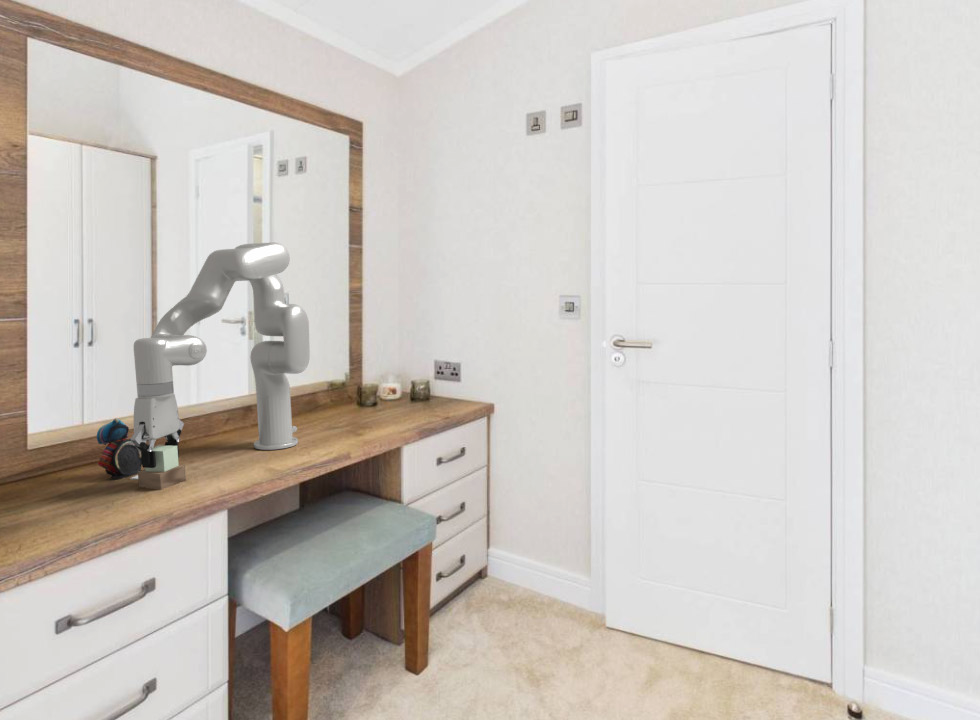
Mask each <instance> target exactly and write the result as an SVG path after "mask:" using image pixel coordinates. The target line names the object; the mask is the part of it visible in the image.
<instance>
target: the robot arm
mask: <svg viewBox="0 0 980 720" xmlns="http://www.w3.org/2000/svg"><path fill="white" fill-rule="evenodd" d="M289 265H290V253H289V251H288V249H287V248H286V247H285V246H284V245H283V244H281V243H279V242H259V243H257V242H256V243H246V244H245V243H244V244H240V245H237V246H236V247H235V248H225V249H218V250H214V251H213V252H211V253H210V254H208V255H207V258H206V259H205V261H204V263H203V265H202V266H201V269H200V271H199V273H198V274H197V277H196V279H195V281H194V282H193V284H192V286H191V288H190V291H189V292H188V293H187V294H186V295H185V297H184V298H182V299H181V300H180V301H178V302H177V303H176V304H175V305H174V306H173V307H171V308H170V309H169V310H168V311H167V312H166V313H165V314H164V315H163V316H162V317H161V318H160V320H159V322H158V323H157V325H156V326H155V328H154V330H153V332H152V333H151V336H150V337H144V338H137V339H136V340H135V341H134V342H133V355H134V356H133V357H134V368H135V369H134V370H135V380H136V382H135V383H136V395H137V397H136V398H135V399H134V405H133V406H134V407H133V435H132V436H131V437H130V439H131V441H132V442H133V443H134V444H135V446H136V447H137V448H138V450H139V451H140V452H141V458H142V466H141V468H144V469H145V468H155V467H156V457H155V451H152V450H153V447H155V442H156V440H158V439H162V438H164V439H165V440H166V441H165V442H164V445H166V446H177V450H178V459H179V458H180V449H179V442H180V440H181V438H180V436H181V434H182V430H183V427H184V425H185V422H183V421H182V420H181V419H180V416H179V415H180V414H179V408H178V403H177V398H176V394H175V391H174V389H175V388H174V376H173V367H174V366H186V367H187V366H188V367H189V366H193V365H194V366H195V365H197V364H199V363H200V362H201V361H203V360H204V359H205V357H206V355H207V351H208V350H207V346H206V344H205V342H204V341H203V340H202V338H199V337H198V336H195V335H189V334H186V333H187V331H188V330H189V329H190V328H191V327H193V326H194V325H195V324H197V323H199V322H201V321H203V320H205V319H207V318H210V317H212V316H213V315H215V314H217V313H219V312H220V311H221V310H222V309H223V307H224V304H225V302H226V300H227V298H228V297H229V294H230V292H231V291H232V289H233V286H234V284H235V283H236V282H237V281H238V282H241V281H243V282H246V281H248V282H249V283H250V285H251V287H252V291H253V292H252V294H253V310H254V311H253V317H254V326H255V329H256V331H257V333H259V334H260V335H261V336H264V337H265V336H268V337H283V340H264V341H260V342H258V343H257V344H255V345H254V346H253V347H252V348H251V351H250V356H249V357H250V363H251V369H252V370H253V371H252V372H253V375H254V376H253V377H254V380H255V381H254V383H255V394H256V412H257V428H258V440H256V441H254V443H253V448H255V449H257V450H262V451H263V450H265V451H267V450H268V451H270V450H271V451H274V450H275V451H276V450H282V449H287V448H291V447H294V446H296V445H297V444H298V443H299V439H298V438H297V437H295V436H293V434H294V433H296V432H297V430H298V428H297V426H296V425H293V423H292V421H293V420H292V405H291V404H292V403H291V402H292V401H291V387H290V382H289V380H288V378H287V376H286V375H287V374H290V375H295V374H301V373H303V372H305V370H306V369H307V368H308V365H309V362H310V357H311V356H310V355H311V351H310V325H309V324H310V323H309V317H308V314H307V312H306V311H305V309H304V308H303V306H300V305H299V304H294V303H286V301H285V300H286V299H285V290H284V289H285V287H284V285H283V282H282V280H281V278H280V277H279V275H278V274H280V273H281V274H282V273H283V272H284V271H285V270H286V269H287V268H288V266H289ZM147 442H148V444H147Z"/></svg>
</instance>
